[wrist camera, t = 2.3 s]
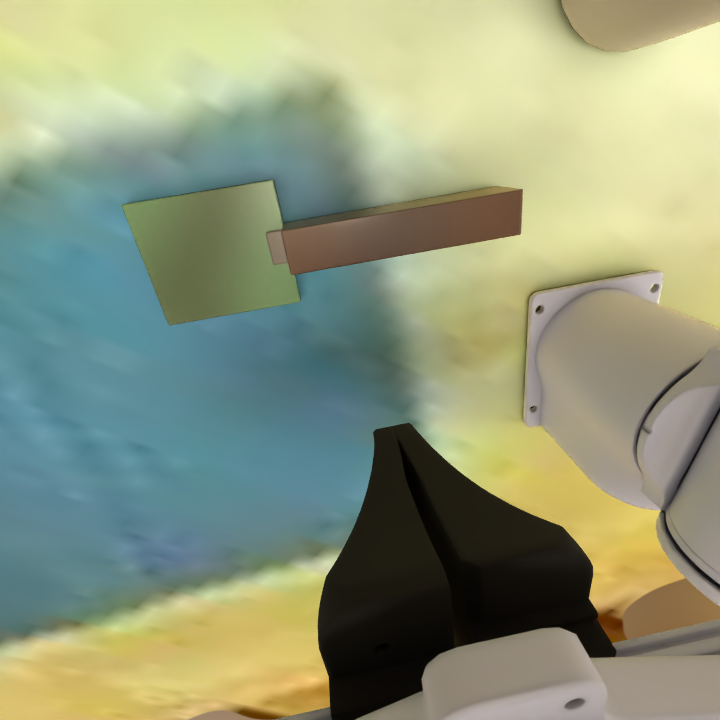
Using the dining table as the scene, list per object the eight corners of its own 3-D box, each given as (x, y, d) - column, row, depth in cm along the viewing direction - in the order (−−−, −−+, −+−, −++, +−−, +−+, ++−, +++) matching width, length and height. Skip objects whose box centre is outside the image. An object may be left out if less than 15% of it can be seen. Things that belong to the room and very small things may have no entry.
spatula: (497, 141, 19) (525, 138, 17) (495, 263, 22) (520, 276, 20) (126, 203, 19) (98, 209, 16) (172, 322, 21) (154, 342, 19)
